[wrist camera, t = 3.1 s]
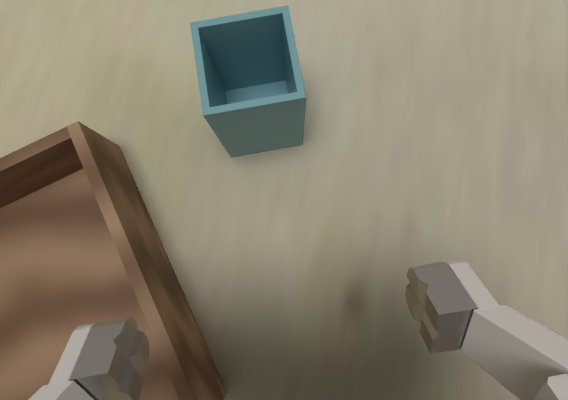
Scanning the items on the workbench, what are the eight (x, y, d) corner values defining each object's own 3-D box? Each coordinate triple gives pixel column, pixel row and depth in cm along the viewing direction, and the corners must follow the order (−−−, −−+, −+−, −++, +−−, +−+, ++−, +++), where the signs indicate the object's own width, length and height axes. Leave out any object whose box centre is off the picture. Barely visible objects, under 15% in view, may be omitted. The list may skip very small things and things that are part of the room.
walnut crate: (226, 392, 23) (207, 430, 18) (12, 504, 22) (-68, 576, 17) (119, 145, 26) (77, 121, 21) (-72, 238, 25) (-161, 235, 20)
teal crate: (302, 144, 26) (305, 97, 18) (231, 157, 26) (203, 115, 18) (290, 78, 27) (288, 5, 19) (221, 90, 27) (190, 22, 19)
